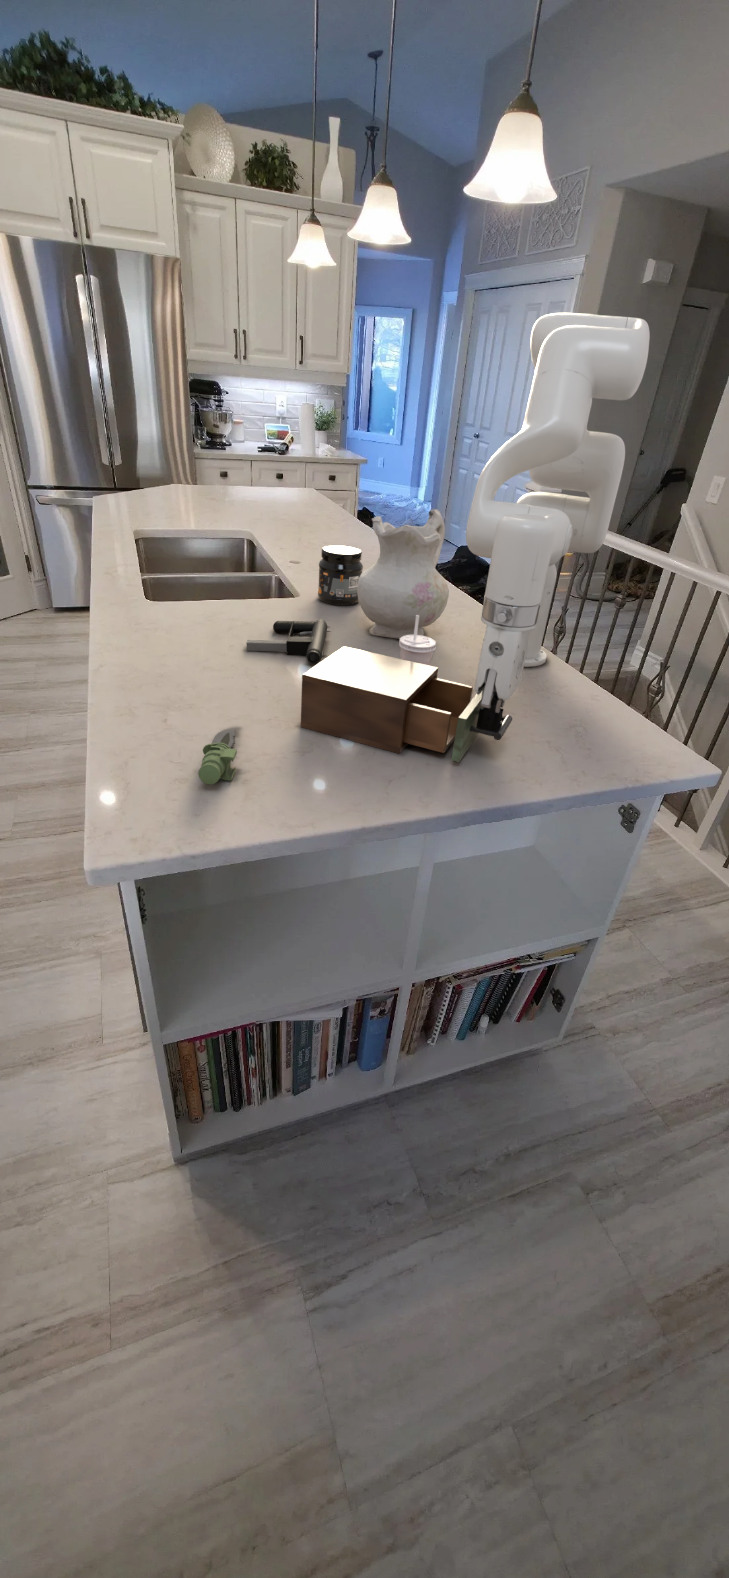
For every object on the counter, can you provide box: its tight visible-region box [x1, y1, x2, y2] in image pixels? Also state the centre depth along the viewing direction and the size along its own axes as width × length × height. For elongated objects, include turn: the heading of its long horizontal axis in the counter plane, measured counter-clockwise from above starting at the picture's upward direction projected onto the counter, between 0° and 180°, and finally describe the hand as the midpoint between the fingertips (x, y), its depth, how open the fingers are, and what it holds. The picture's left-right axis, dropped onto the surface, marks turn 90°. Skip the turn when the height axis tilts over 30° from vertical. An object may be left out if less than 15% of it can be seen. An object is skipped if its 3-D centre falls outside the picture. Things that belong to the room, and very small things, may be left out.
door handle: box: [245, 619, 332, 665], centre depth 135 cm, size 3×20×16 cm
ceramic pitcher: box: [357, 508, 450, 640], centre depth 143 cm, size 22×20×25 cm
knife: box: [198, 728, 238, 785], centre depth 95 cm, size 4×18×5 cm
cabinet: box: [300, 645, 439, 755], centre depth 107 cm, size 17×15×9 cm
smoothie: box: [398, 615, 437, 666], centre depth 117 cm, size 6×6×14 cm
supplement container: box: [317, 544, 364, 606], centre depth 163 cm, size 10×10×12 cm
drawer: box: [403, 677, 514, 763], centre depth 104 cm, size 20×14×7 cm, turn 66°
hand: (487, 732), depth 102 cm, fingers closed
